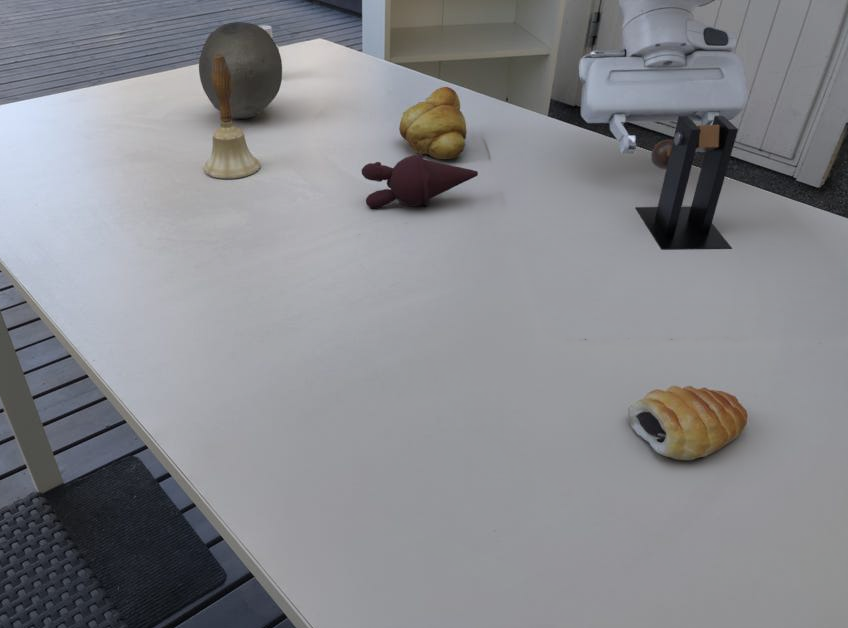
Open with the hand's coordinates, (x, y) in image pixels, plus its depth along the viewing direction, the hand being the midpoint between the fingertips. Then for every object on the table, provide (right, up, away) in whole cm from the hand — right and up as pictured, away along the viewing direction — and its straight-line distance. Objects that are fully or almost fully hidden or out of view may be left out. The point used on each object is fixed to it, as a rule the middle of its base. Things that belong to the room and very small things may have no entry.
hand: (665, 151), depth 94 cm
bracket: (0, -11, -4) cm, 12 cm away
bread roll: (-28, +6, +20) cm, 35 cm away
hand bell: (-58, +2, +16) cm, 60 cm away
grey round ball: (-58, +15, +33) cm, 69 cm away
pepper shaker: (-57, +28, +51) cm, 82 cm away
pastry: (-12, -33, -32) cm, 47 cm away
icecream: (-31, -6, +5) cm, 32 cm away
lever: (0, -3, -5) cm, 6 cm away
